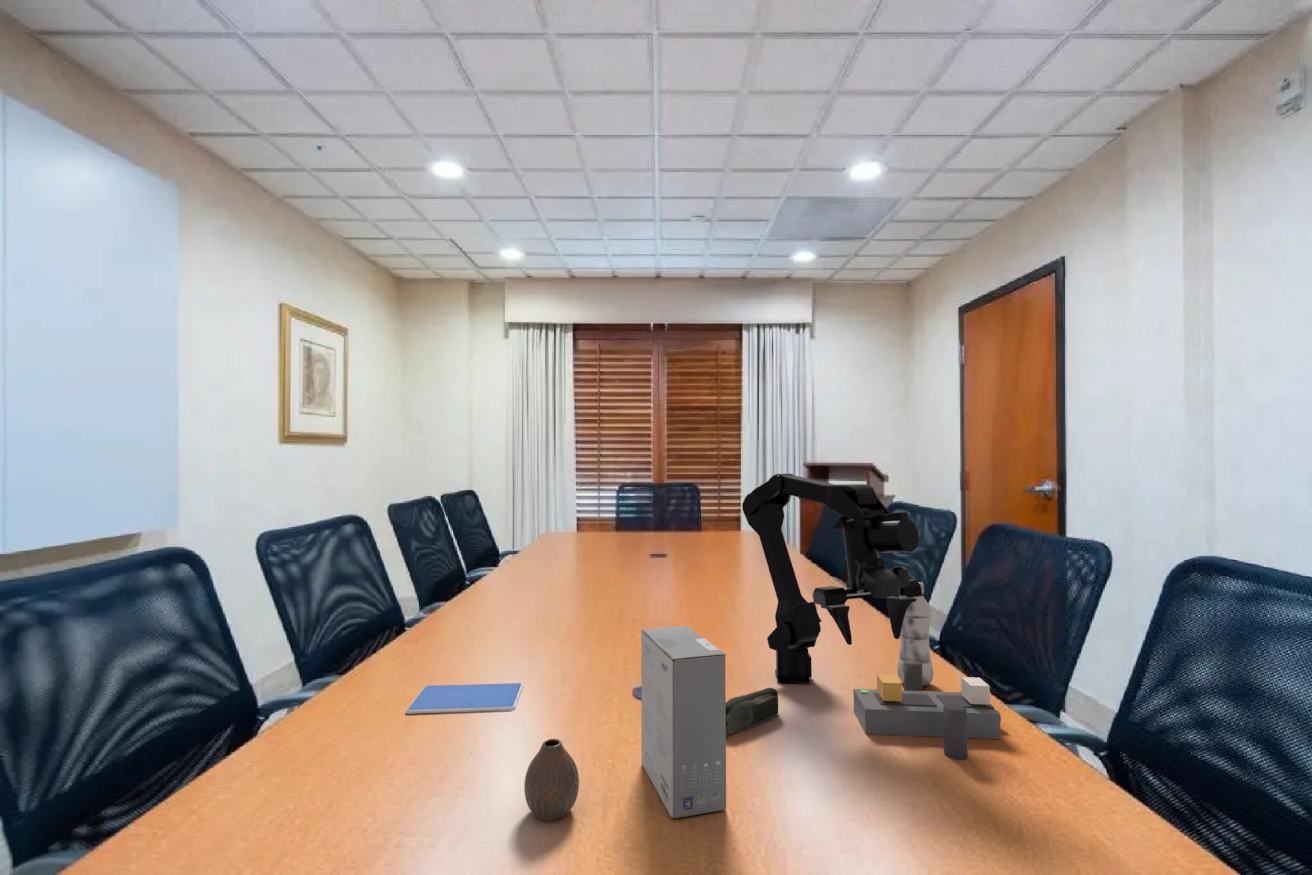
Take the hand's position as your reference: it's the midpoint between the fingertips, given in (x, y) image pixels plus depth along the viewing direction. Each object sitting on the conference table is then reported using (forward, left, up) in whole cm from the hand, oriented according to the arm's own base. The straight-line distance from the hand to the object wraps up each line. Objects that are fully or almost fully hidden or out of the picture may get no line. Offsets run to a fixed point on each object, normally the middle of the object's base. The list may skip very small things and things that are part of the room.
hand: (873, 641), depth 111 cm
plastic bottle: (+11, +15, -13) cm, 22 cm away
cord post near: (+8, -15, -12) cm, 21 cm away
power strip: (+7, -5, -12) cm, 15 cm away
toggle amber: (+1, -5, -8) cm, 9 cm away
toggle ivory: (+15, -5, -8) cm, 18 cm away
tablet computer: (-75, -1, -13) cm, 76 cm away
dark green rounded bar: (-23, -8, -13) cm, 27 cm away
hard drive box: (-33, -28, -13) cm, 45 cm away
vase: (-49, -36, -13) cm, 62 cm away
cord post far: (+8, +6, -12) cm, 16 cm away
